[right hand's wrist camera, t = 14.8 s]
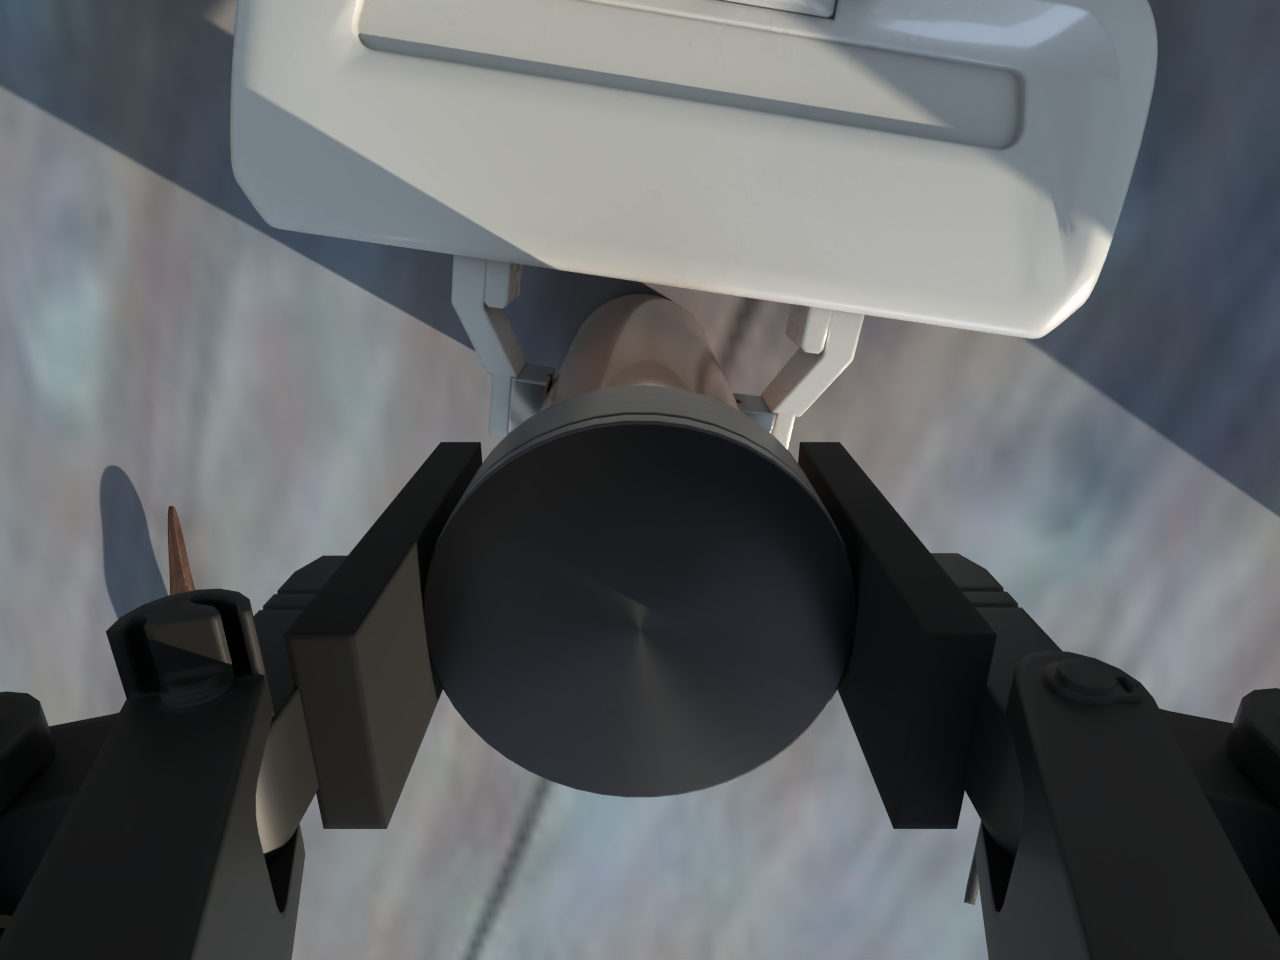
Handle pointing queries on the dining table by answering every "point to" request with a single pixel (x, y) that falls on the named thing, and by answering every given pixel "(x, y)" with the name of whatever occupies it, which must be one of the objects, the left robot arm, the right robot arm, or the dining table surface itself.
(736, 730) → the lid
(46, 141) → the dining table surface
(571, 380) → the tan rounded cylinder
